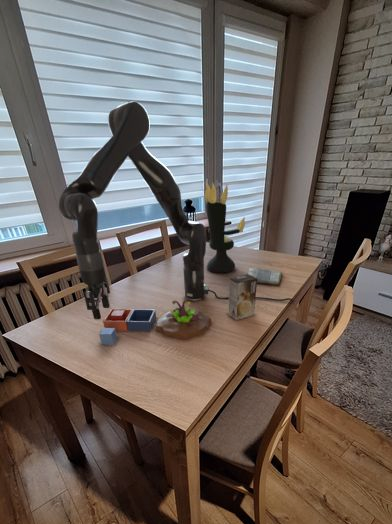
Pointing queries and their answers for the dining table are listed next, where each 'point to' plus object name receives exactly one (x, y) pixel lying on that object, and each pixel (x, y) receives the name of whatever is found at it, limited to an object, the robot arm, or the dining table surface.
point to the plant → (183, 322)
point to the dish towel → (266, 276)
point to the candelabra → (219, 231)
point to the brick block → (118, 315)
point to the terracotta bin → (117, 324)
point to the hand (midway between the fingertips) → (102, 313)
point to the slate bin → (141, 320)
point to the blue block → (108, 336)
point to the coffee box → (242, 296)
